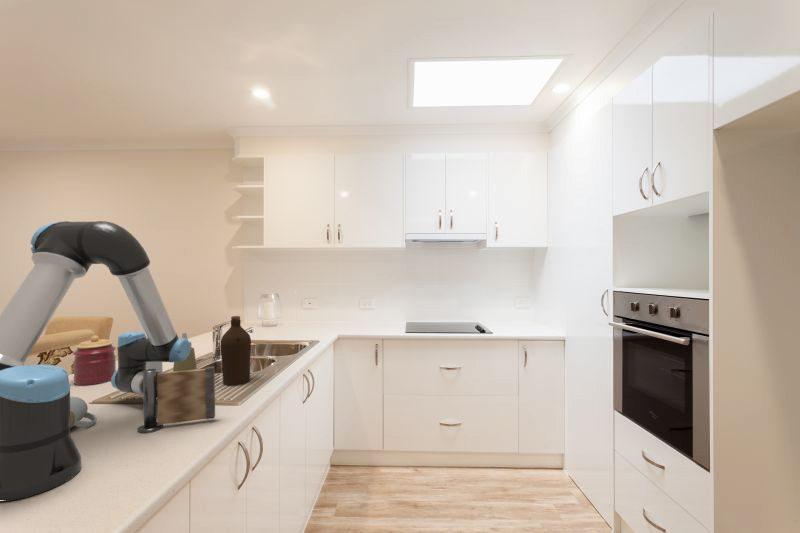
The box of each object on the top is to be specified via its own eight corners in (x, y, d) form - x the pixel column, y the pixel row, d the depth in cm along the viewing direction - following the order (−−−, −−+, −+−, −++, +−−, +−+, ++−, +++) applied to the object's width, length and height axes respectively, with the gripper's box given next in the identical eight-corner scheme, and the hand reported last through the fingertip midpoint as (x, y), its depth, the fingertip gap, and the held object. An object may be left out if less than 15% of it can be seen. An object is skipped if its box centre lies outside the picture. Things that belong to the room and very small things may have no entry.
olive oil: (257, 379, 146) (256, 315, 145) (234, 388, 136) (233, 319, 136) (238, 376, 150) (237, 313, 150) (214, 384, 141) (213, 317, 141)
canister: (101, 374, 155) (100, 331, 154) (124, 377, 151) (123, 333, 150) (65, 384, 142) (64, 337, 142) (88, 387, 138) (87, 339, 138)
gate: (157, 425, 103) (156, 373, 103) (159, 422, 105) (159, 371, 105) (214, 418, 108) (213, 368, 107) (215, 415, 109) (214, 366, 109)
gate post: (163, 429, 103) (162, 371, 102) (137, 435, 99) (135, 375, 99) (163, 421, 108) (162, 366, 107) (137, 427, 104) (136, 369, 104)
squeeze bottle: (184, 383, 142) (183, 336, 142) (168, 381, 144) (167, 334, 144) (201, 377, 149) (200, 332, 149) (186, 375, 152) (185, 331, 152)
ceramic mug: (40, 437, 99) (40, 408, 99) (54, 424, 106) (54, 397, 106) (90, 430, 103) (90, 402, 103) (100, 419, 110) (100, 393, 110)
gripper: (171, 389, 126) (223, 398, 117) (130, 402, 114) (185, 414, 105) (171, 366, 126) (223, 374, 116) (130, 377, 114) (184, 387, 104)
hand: (205, 393), depth 111 cm, fingers closed
